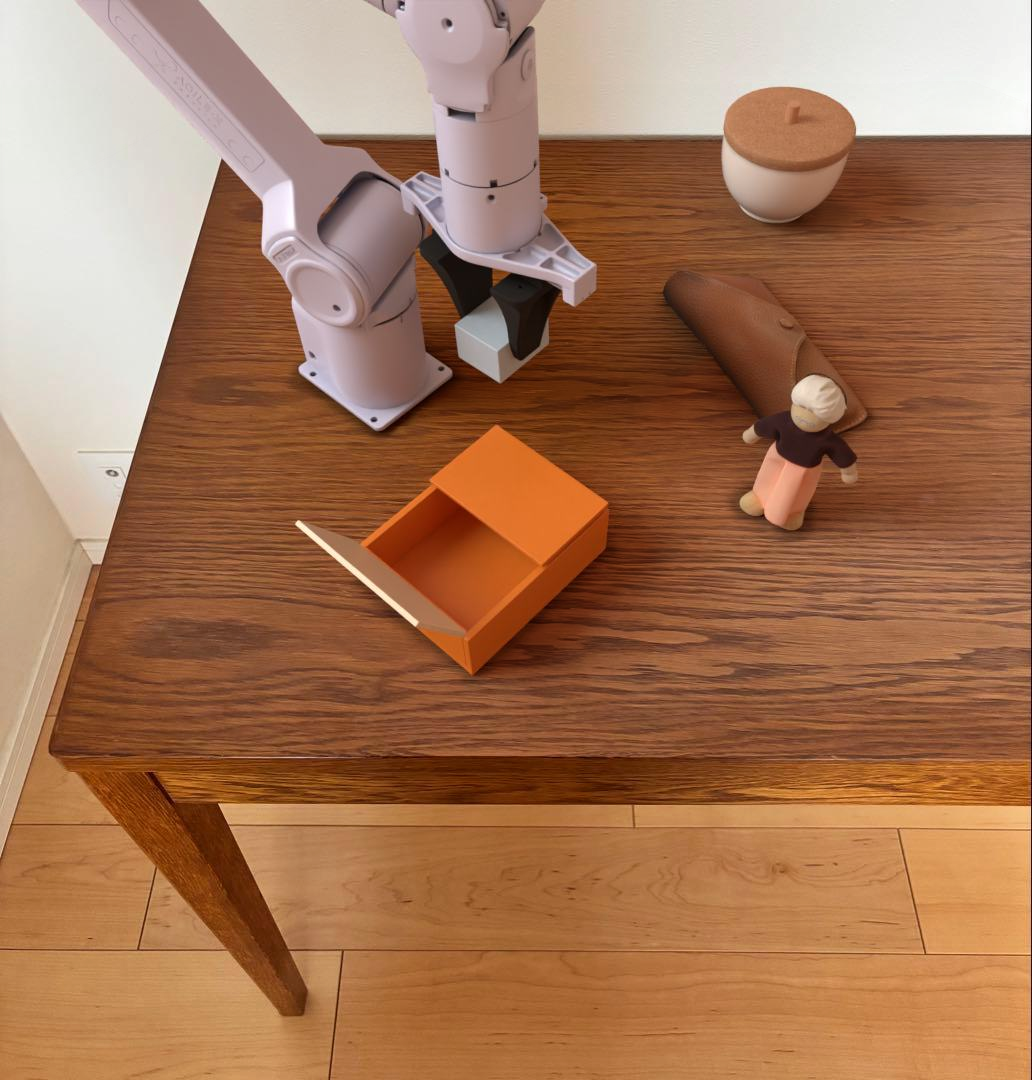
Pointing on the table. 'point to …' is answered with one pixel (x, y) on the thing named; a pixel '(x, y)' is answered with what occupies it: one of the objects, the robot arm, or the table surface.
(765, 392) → the sunglasses case
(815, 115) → the trinket box
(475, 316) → the pale grey cuboid
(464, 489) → the orange flip-lid box
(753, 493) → the grandmother figurine
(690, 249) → the table surface
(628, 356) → the table surface
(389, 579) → the flap
